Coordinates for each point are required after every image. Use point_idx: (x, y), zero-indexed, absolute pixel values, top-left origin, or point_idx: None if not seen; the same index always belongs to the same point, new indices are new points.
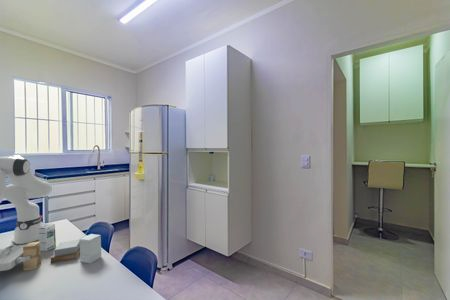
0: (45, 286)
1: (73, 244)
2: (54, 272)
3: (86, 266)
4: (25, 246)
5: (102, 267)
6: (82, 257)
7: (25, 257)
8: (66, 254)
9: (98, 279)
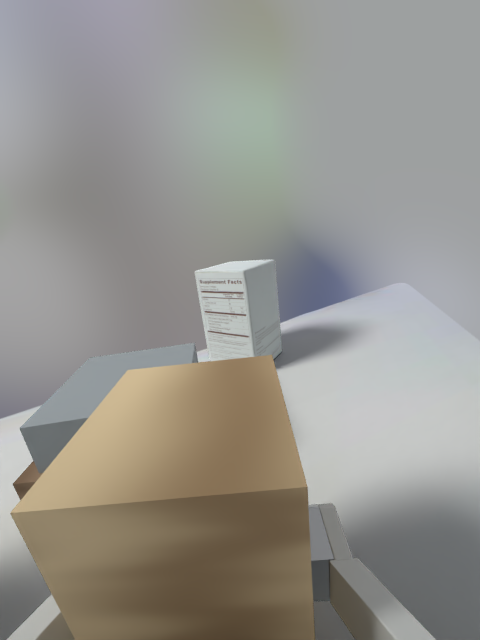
0: (472, 397)
1: (153, 357)
2: (347, 419)
3: (300, 353)
4: (267, 453)
5: (312, 329)
6: (262, 348)
7: (352, 560)
8: None
9: (375, 320)
